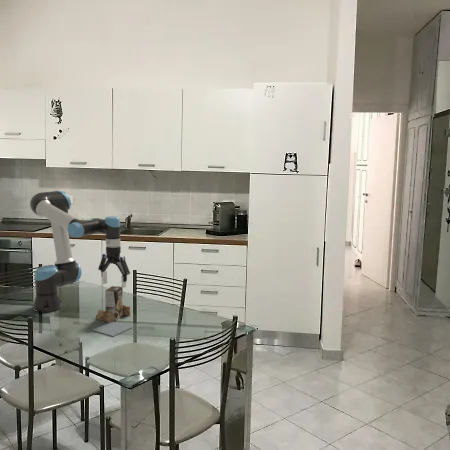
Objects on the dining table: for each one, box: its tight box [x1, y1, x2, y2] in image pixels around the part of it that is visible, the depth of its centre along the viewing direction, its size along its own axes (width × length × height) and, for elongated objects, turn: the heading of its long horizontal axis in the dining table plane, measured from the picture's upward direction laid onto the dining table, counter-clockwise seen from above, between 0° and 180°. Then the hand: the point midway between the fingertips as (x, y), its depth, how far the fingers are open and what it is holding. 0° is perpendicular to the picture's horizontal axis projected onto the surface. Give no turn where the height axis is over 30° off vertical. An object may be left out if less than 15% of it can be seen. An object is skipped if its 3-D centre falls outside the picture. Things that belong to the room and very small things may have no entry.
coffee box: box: [104, 285, 124, 322], centre depth 271 cm, size 9×6×16 cm
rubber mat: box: [92, 321, 134, 338], centre depth 256 cm, size 14×14×1 cm
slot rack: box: [95, 304, 131, 323], centre depth 272 cm, size 12×14×5 cm
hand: (114, 285), depth 269 cm, fingers open, 13 cm apart
